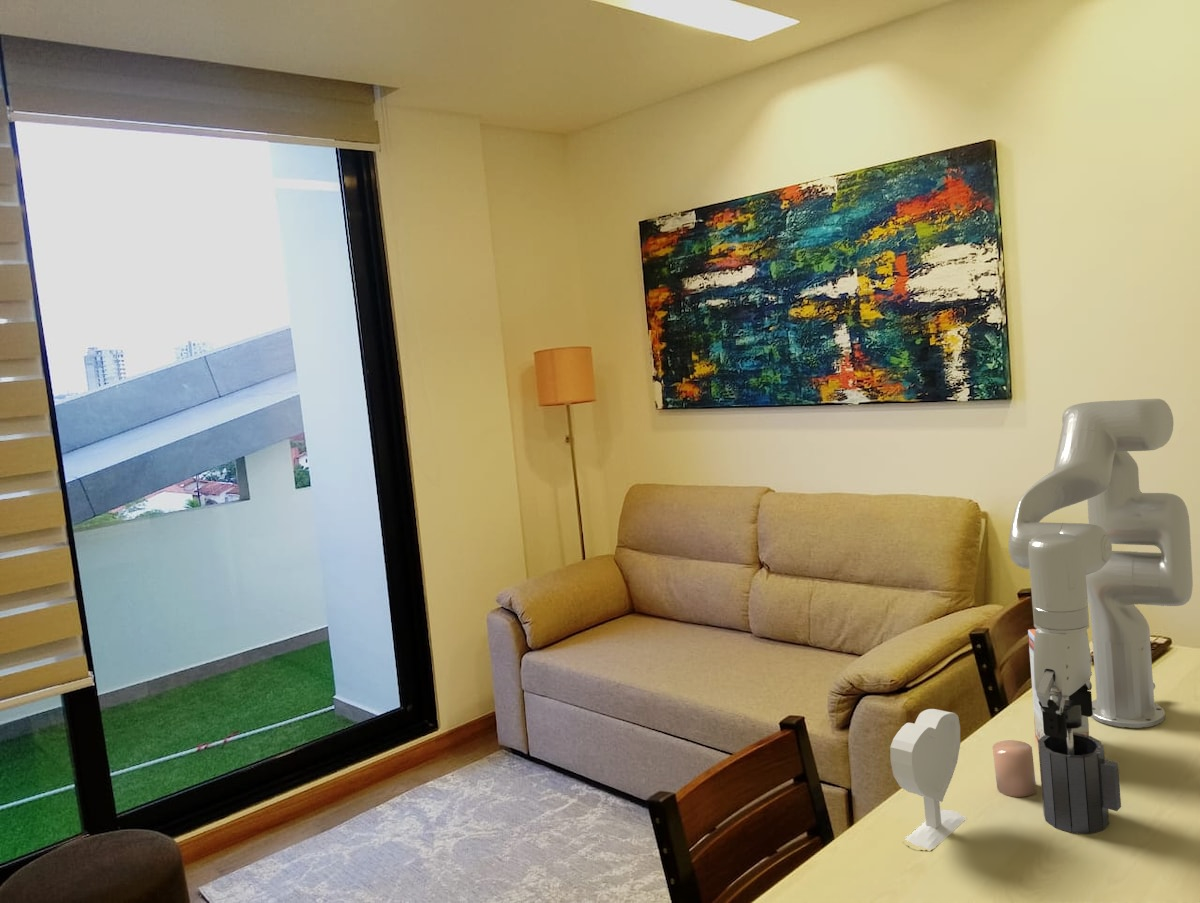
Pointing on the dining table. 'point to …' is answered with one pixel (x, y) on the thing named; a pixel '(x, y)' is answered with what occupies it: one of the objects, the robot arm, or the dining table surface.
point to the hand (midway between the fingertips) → (1068, 725)
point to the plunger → (1072, 721)
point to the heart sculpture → (928, 770)
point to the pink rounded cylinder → (1014, 768)
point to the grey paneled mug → (1077, 784)
